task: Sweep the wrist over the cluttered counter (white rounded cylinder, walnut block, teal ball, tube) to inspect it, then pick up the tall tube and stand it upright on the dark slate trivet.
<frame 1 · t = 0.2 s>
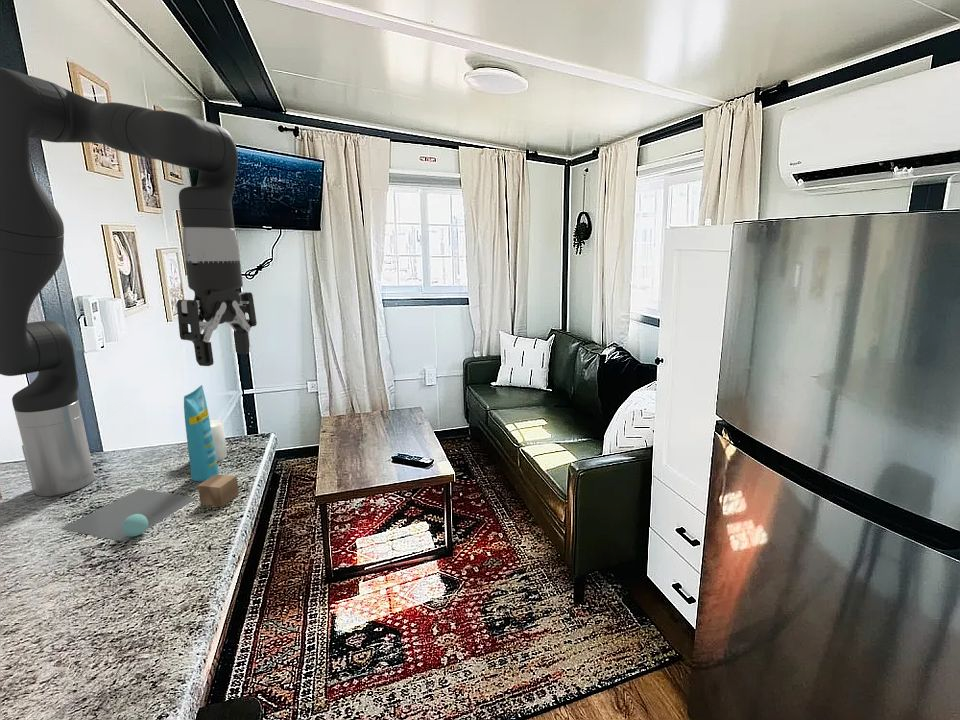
hand: (225, 359, 76), 29 cm above the countertop, fingers open, 8 cm apart
white rounded cylinder: (210, 458, 106), on the countertop
trivet: (133, 515, 83), on the countertop
teal ball: (136, 534, 76), point 1 cm above the countertop, touching trivet
walnut block: (208, 490, 87), point 2 cm above the countertop, tilted 90°
tube: (206, 478, 97), on the countertop
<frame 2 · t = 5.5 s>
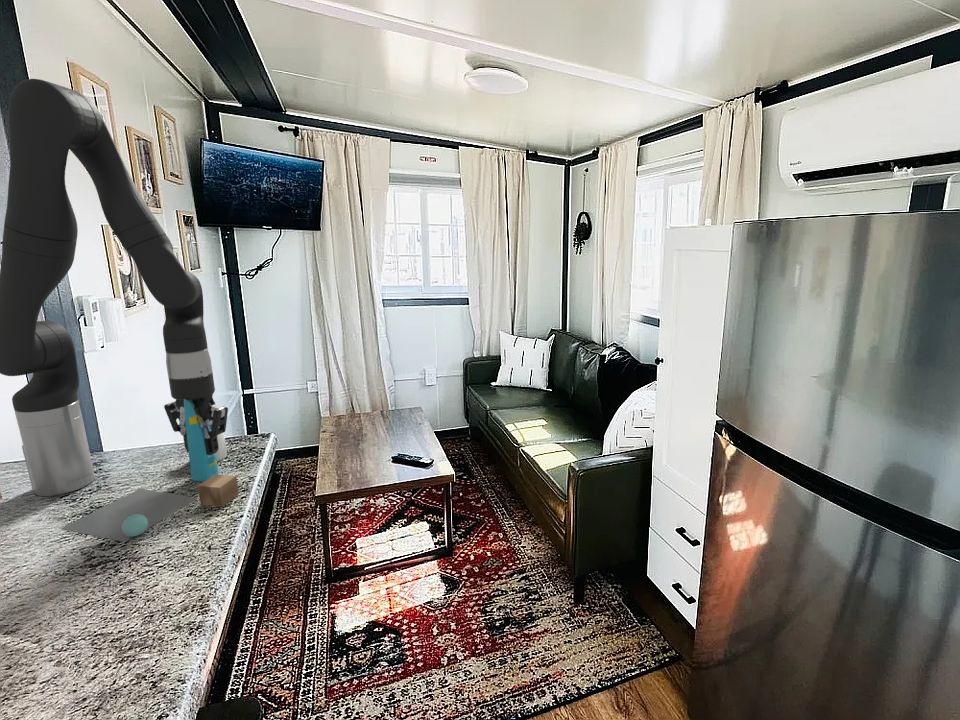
hand: (202, 451, 95), 6 cm above the countertop, fingers closed on tube, 4 cm apart
tube: (206, 478, 97), on the countertop, touching gripper
everything else where it was.
when the fingers open (8 cm above the countertop, at t = 11.6 s): tube drops 1 cm, resting on trivet.
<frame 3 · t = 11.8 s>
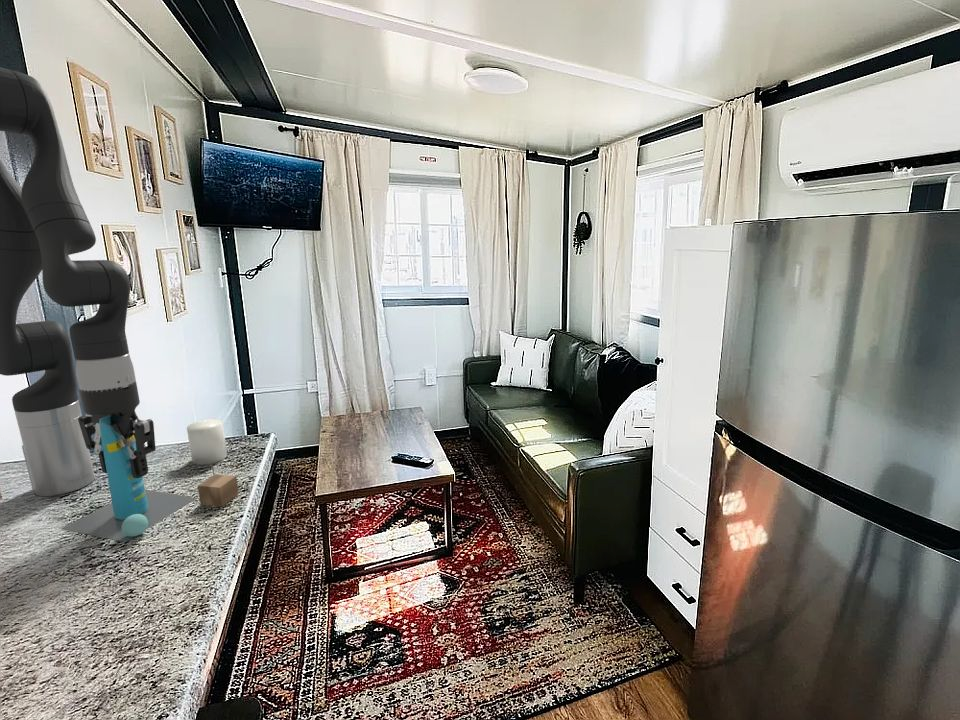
hand: (125, 473, 81), 8 cm above the countertop, fingers open, 6 cm apart
tube: (133, 513, 83), resting on trivet
everything else where it was.
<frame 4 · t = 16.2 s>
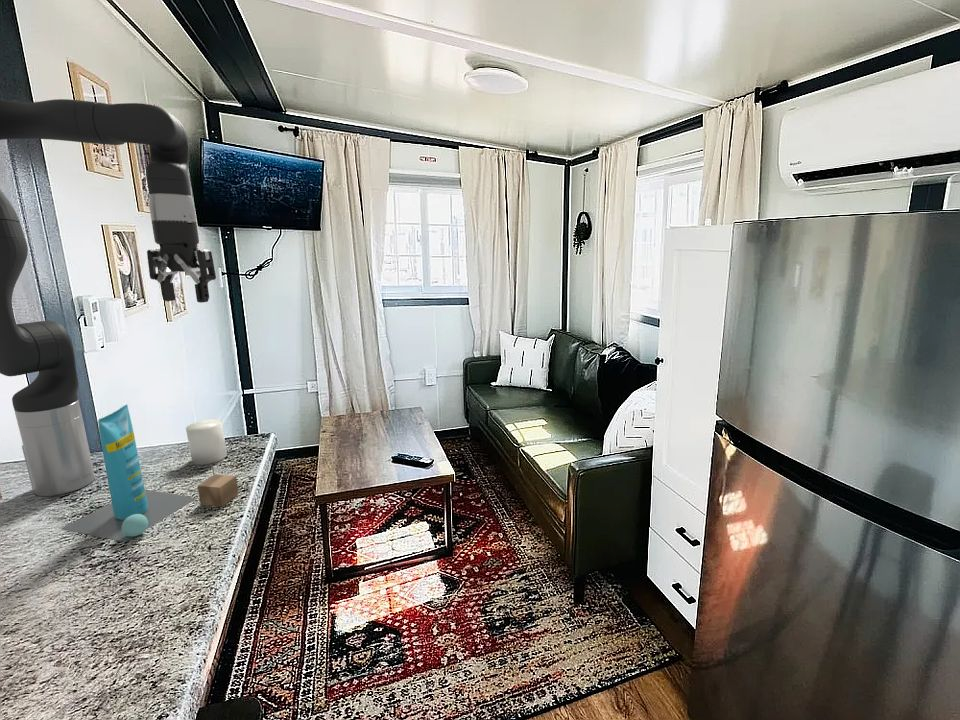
hand: (186, 301, 95), 36 cm above the countertop, fingers open, 8 cm apart
nothing on the countertop moved.
at the end: tube inside the target area on the trivet (0.1 cm from its centre), point 0.4 cm above the trivet's base; tube tilted 0°; the gripper is holding nothing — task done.
